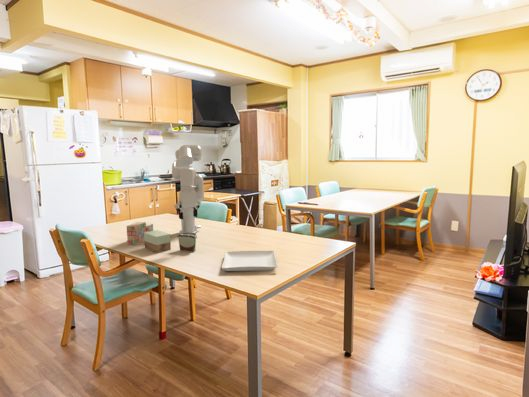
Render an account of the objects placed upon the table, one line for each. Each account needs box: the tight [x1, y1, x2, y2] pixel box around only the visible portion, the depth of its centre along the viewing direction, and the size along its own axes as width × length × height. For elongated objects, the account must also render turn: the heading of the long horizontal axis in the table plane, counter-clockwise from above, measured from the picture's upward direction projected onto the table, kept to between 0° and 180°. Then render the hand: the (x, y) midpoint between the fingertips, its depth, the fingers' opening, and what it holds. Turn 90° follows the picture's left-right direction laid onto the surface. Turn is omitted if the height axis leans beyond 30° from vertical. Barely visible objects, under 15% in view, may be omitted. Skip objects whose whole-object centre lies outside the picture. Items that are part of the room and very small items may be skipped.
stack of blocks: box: [126, 221, 154, 246], centre depth 223 cm, size 21×6×12 cm, turn 169°
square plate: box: [221, 250, 278, 272], centre depth 175 cm, size 27×27×4 cm
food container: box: [177, 232, 198, 253], centre depth 201 cm, size 12×6×10 cm, turn 71°
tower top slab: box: [144, 229, 171, 245], centre depth 203 cm, size 9×15×5 cm, turn 47°
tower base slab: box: [143, 241, 172, 254], centre depth 204 cm, size 9×15×5 cm, turn 46°
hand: (188, 217), depth 199 cm, fingers open, 9 cm apart
